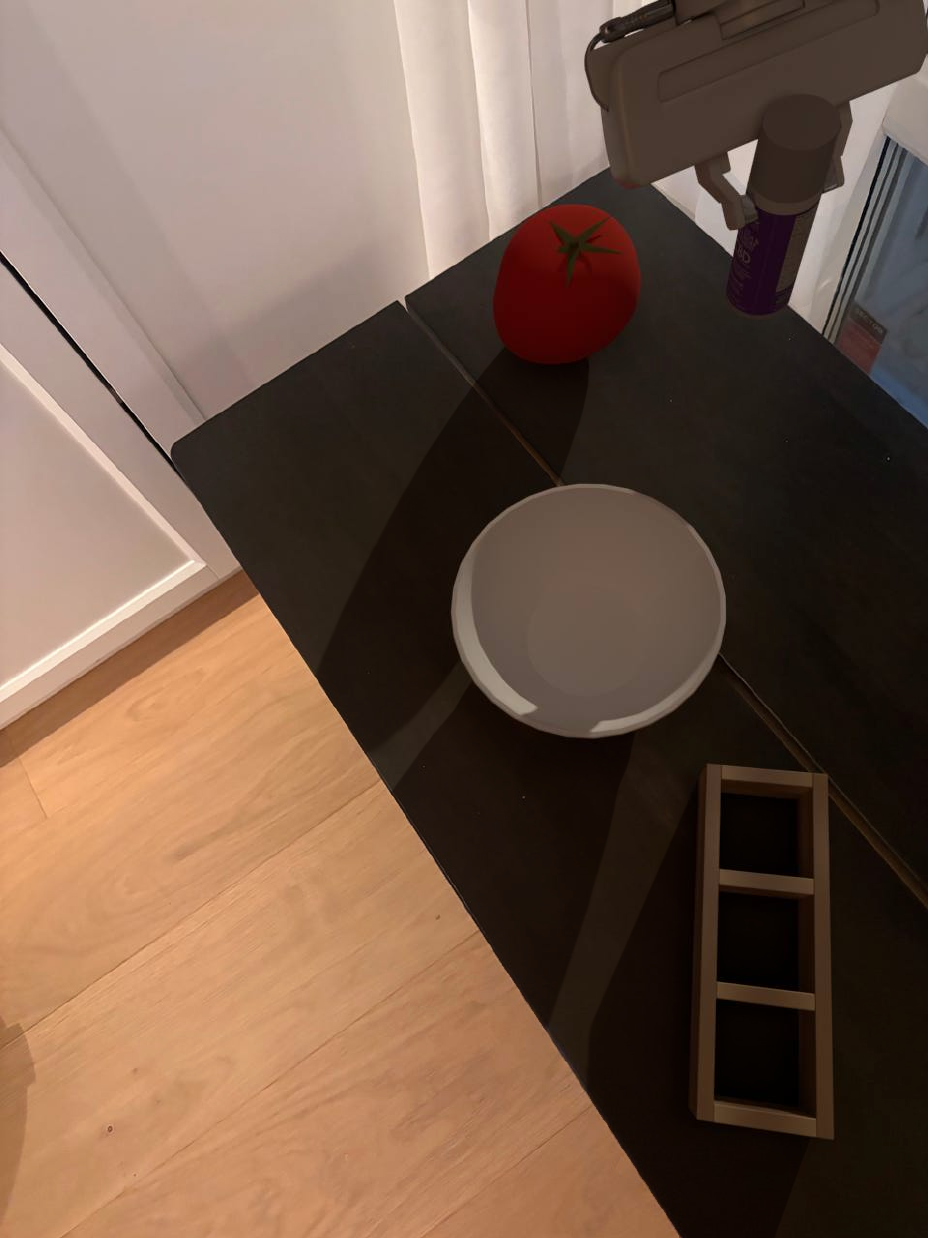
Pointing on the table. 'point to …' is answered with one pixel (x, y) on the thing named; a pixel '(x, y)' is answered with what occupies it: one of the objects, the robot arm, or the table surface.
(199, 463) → the table surface
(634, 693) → the bowl
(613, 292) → the tomato
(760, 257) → the container
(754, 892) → the rack
